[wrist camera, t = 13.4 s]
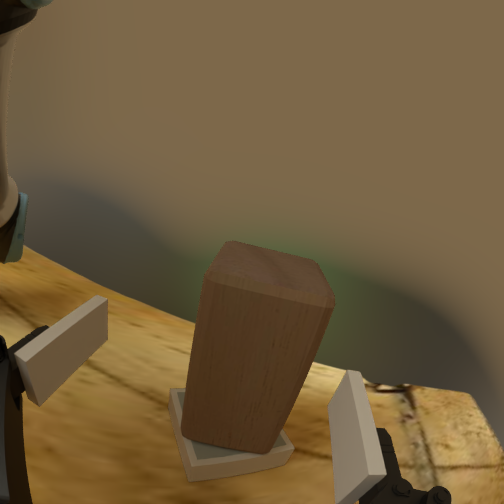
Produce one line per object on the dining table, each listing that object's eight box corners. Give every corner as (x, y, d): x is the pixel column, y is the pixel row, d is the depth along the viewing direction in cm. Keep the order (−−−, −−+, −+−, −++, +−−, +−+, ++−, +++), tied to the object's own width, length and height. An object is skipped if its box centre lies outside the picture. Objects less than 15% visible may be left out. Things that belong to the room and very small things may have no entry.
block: (270, 400, 35) (320, 259, 30) (270, 458, 25) (342, 298, 20) (196, 384, 35) (224, 236, 30) (177, 439, 25) (204, 265, 20)
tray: (168, 408, 34) (169, 387, 33) (249, 402, 39) (255, 383, 38) (188, 481, 23) (191, 465, 22) (284, 464, 28) (295, 447, 27)
